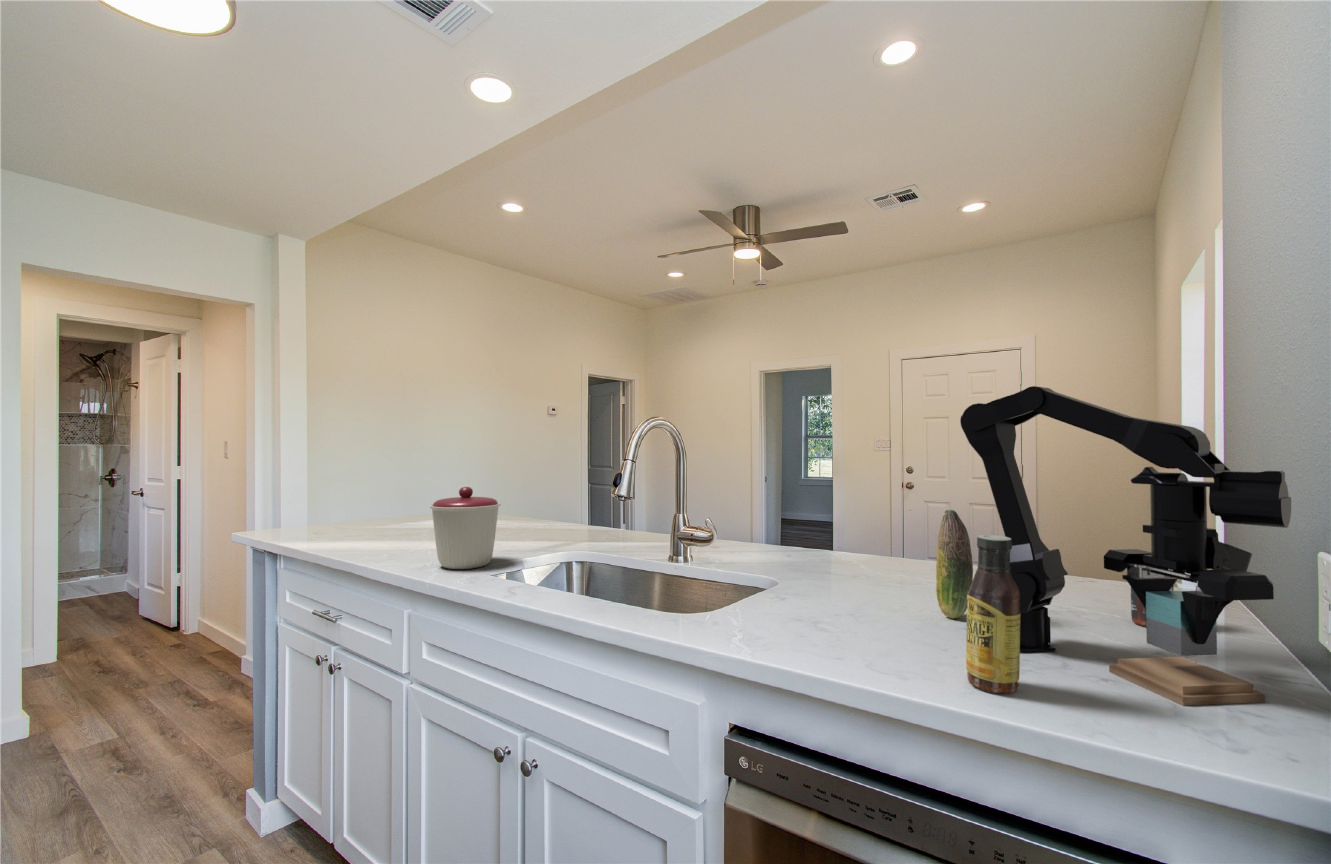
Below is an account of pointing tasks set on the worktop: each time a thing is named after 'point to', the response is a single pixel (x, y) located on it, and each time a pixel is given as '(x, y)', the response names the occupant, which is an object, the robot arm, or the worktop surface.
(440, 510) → the canister
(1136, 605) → the supplement bottle
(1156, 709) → the worktop surface
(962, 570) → the vegetable
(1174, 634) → the teal and grey block
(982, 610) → the sauce bottle
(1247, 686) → the walnut stand
